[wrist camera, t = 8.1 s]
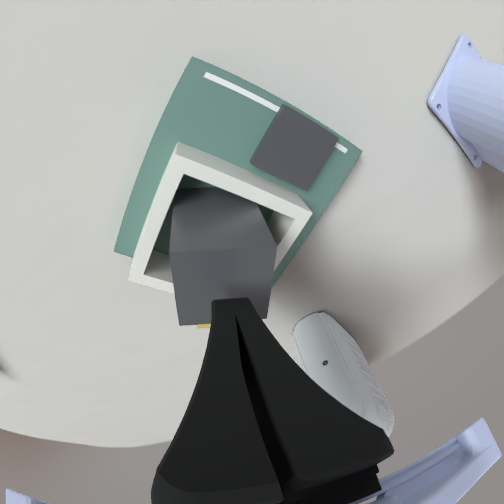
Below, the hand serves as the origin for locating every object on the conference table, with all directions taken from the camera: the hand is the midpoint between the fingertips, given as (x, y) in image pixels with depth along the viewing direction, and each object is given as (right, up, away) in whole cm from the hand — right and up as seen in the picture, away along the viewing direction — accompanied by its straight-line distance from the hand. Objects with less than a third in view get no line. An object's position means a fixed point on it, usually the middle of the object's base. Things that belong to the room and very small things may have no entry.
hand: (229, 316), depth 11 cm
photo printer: (+8, -6, +17) cm, 20 cm away
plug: (-1, +4, +6) cm, 7 cm away
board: (0, +6, +6) cm, 9 cm away
